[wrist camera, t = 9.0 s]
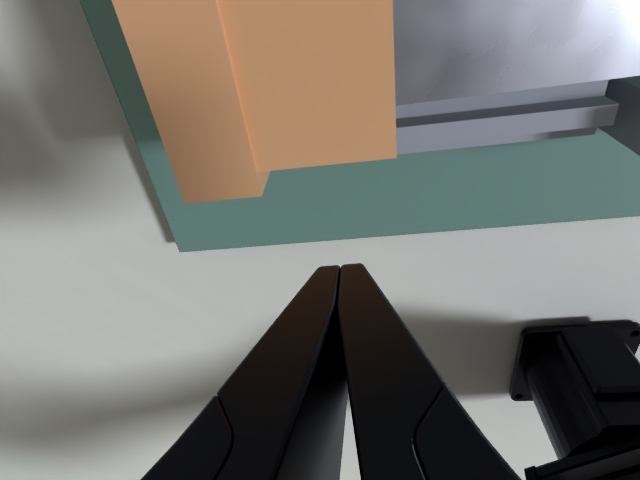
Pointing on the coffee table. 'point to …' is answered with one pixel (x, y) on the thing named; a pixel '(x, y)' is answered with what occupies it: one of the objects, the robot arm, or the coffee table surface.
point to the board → (416, 165)
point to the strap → (510, 45)
